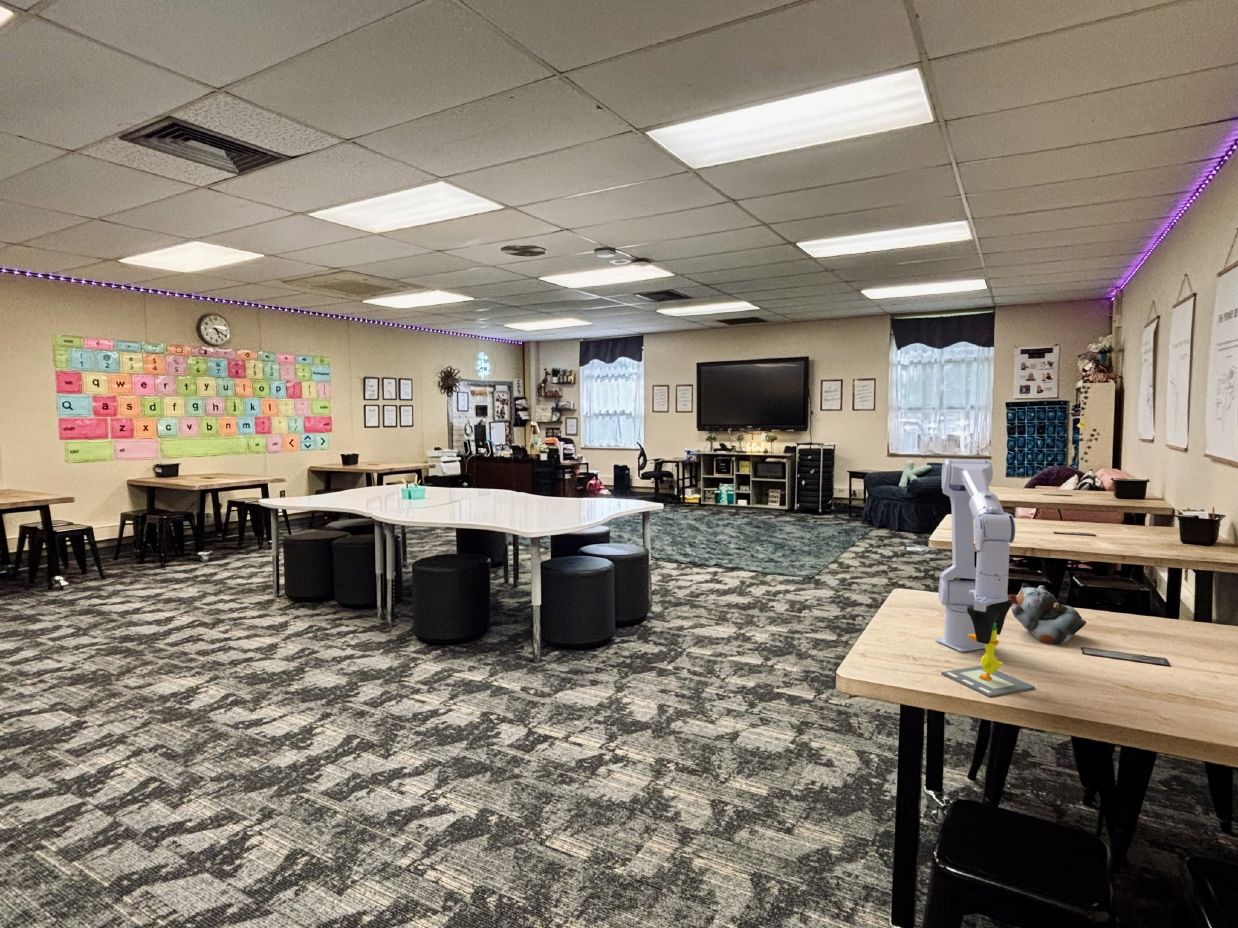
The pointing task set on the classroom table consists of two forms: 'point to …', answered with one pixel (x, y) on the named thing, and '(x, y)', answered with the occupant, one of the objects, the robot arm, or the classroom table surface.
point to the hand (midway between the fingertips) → (988, 637)
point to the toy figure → (989, 655)
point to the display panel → (989, 688)
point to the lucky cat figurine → (1045, 615)
